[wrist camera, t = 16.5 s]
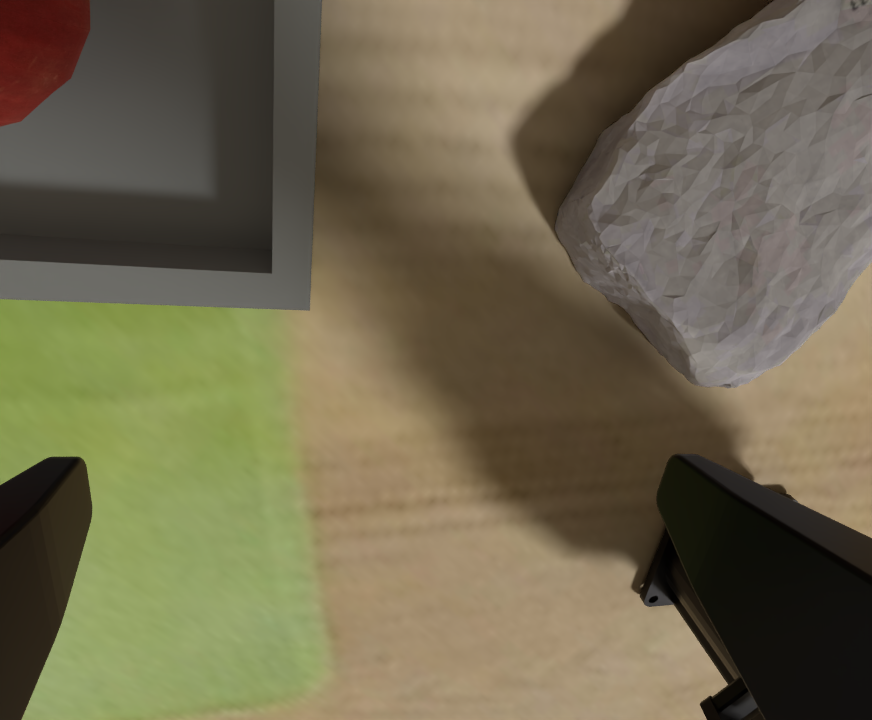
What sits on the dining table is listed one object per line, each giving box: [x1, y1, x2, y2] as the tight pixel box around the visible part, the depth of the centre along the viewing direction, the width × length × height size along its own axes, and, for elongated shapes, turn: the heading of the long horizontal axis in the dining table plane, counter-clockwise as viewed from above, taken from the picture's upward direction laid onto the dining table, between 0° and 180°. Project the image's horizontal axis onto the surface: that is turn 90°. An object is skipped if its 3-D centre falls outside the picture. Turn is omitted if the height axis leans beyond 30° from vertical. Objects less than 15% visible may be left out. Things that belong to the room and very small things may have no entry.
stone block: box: [555, 0, 872, 388], centre depth 20 cm, size 12×5×10 cm
